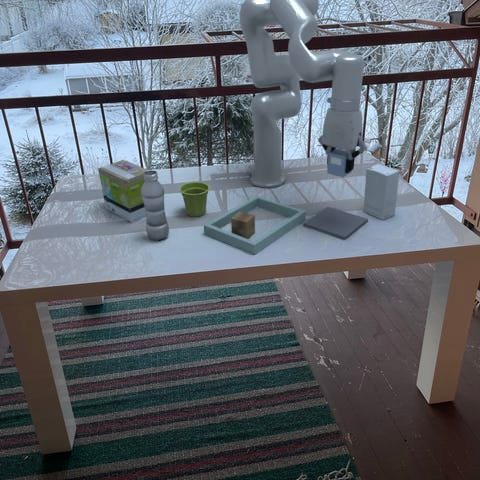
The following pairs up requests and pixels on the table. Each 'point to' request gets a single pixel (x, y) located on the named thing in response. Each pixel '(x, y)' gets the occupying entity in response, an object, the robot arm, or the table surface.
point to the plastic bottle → (154, 206)
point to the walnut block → (243, 224)
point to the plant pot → (195, 197)
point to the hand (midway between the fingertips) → (339, 168)
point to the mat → (335, 223)
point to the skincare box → (381, 191)
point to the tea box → (123, 189)
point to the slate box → (337, 162)
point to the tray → (265, 240)
